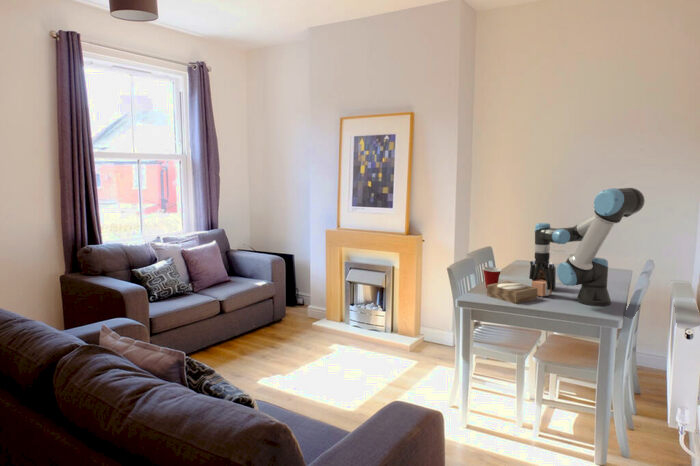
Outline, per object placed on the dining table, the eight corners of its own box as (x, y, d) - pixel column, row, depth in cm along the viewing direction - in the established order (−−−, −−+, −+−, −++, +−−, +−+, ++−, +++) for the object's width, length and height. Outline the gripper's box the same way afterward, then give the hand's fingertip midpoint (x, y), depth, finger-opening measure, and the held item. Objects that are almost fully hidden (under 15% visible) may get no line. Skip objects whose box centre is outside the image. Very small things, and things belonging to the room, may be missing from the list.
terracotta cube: (551, 294, 264) (551, 281, 263) (542, 296, 260) (542, 283, 259) (540, 292, 270) (540, 279, 269) (531, 293, 266) (531, 281, 265)
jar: (557, 291, 273) (558, 264, 271) (535, 290, 275) (535, 264, 274) (553, 286, 285) (553, 261, 283) (532, 285, 287) (532, 260, 285)
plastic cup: (499, 291, 275) (499, 270, 274) (480, 289, 281) (480, 269, 279) (503, 287, 285) (503, 267, 283) (484, 285, 290) (484, 265, 289)
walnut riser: (537, 299, 258) (537, 287, 257) (515, 303, 250) (516, 291, 249) (507, 291, 275) (507, 280, 274) (487, 295, 267) (487, 284, 266)
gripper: (562, 253, 256) (562, 296, 258) (531, 249, 273) (531, 289, 275) (553, 255, 252) (552, 298, 254) (522, 250, 269) (521, 291, 272)
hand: (541, 293), depth 265 cm, fingers closed on terracotta cube, 7 cm apart
